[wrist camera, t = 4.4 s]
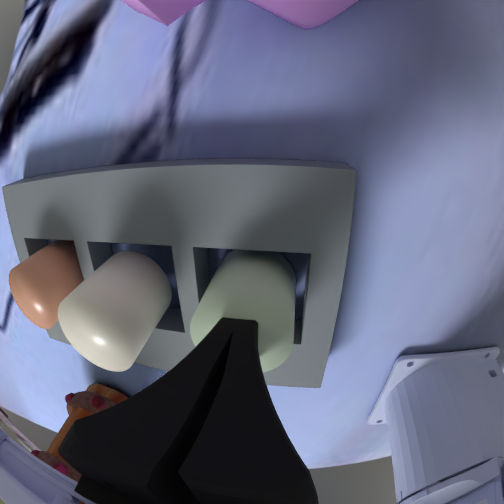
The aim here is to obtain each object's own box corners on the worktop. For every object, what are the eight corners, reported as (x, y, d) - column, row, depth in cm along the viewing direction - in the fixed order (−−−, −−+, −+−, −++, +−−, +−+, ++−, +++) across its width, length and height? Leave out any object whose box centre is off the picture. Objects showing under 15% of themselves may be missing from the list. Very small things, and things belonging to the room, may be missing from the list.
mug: (76, 356, 21) (-7, 477, 8) (154, 391, 21) (86, 542, 8) (101, 425, 28) (55, 512, 14) (159, 450, 28) (121, 547, 14)
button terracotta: (86, 237, 15) (38, 271, 11) (100, 294, 17) (63, 335, 13) (45, 235, 15) (1, 264, 12) (60, 287, 17) (24, 321, 13)
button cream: (165, 252, 13) (118, 305, 9) (177, 320, 15) (144, 380, 11) (98, 248, 14) (46, 290, 10) (115, 310, 15) (76, 359, 11)
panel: (347, 163, 12) (356, 170, 10) (319, 363, 17) (320, 387, 15) (22, 178, 14) (2, 187, 13) (63, 323, 19) (49, 337, 18)
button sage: (298, 247, 13) (297, 300, 10) (292, 316, 15) (289, 377, 11) (214, 243, 14) (183, 291, 10) (219, 310, 16) (196, 367, 12)
